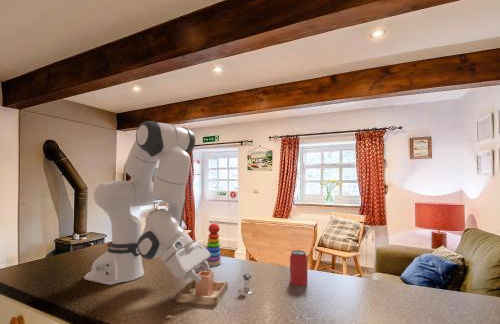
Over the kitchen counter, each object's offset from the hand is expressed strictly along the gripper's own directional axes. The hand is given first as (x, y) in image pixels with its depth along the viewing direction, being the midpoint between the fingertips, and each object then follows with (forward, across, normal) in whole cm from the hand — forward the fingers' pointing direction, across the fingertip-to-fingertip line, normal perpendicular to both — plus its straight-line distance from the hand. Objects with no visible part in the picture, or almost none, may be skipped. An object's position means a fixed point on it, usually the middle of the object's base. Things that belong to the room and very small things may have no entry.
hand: (205, 277), depth 90 cm
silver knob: (+14, -7, +4) cm, 16 cm away
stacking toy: (-3, -32, -13) cm, 35 cm away
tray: (+4, 0, -5) cm, 7 cm away
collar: (+4, 0, -4) cm, 6 cm away
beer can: (+26, -21, +16) cm, 37 cm away
